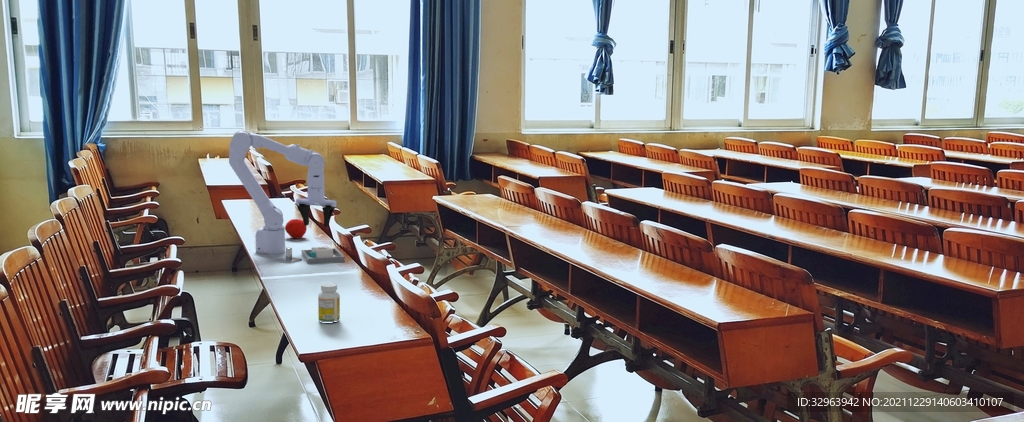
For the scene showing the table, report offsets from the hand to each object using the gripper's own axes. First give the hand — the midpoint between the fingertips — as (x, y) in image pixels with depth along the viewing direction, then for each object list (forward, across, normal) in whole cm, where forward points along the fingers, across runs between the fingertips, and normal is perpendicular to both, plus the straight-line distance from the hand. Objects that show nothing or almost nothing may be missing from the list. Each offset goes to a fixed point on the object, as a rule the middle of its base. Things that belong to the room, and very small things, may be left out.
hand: (316, 225), depth 290 cm
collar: (+9, +8, -11) cm, 16 cm away
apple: (+10, -19, +20) cm, 29 cm away
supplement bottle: (+10, +40, -74) cm, 85 cm away
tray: (+9, +8, -11) cm, 16 cm away
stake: (+9, -1, -18) cm, 20 cm away
